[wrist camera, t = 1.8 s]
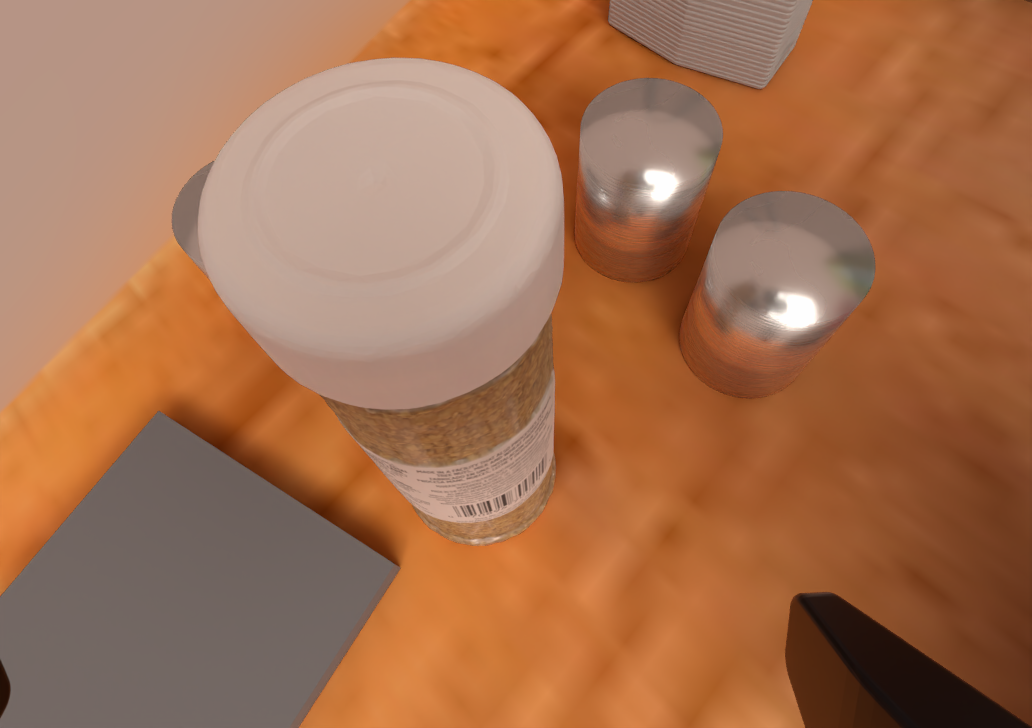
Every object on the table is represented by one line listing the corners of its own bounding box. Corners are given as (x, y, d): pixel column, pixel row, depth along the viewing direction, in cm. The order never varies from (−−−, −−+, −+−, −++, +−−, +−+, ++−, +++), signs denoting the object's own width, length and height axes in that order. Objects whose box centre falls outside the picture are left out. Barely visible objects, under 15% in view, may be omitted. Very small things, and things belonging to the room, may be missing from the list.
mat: (187, 900, 16) (170, 911, 15) (-53, 687, 18) (-77, 687, 18) (400, 568, 19) (394, 564, 18) (172, 419, 21) (158, 410, 21)
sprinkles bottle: (535, 389, 21) (518, 11, 9) (573, 530, 19) (614, 296, 7) (394, 421, 21) (178, 79, 9) (418, 567, 19) (185, 393, 7)
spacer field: (696, 591, 18) (745, 567, 14) (222, 316, 23) (141, 228, 18) (845, 274, 22) (921, 174, 18) (416, 90, 27) (389, -27, 22)
